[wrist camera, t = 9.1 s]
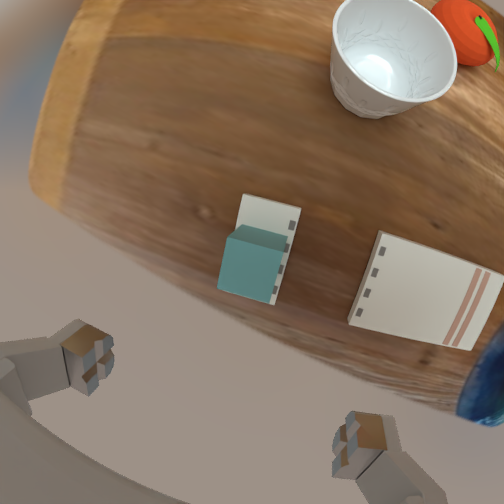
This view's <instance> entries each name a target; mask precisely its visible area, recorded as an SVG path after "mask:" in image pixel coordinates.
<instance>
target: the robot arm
mask: <svg viewBox="0 0 504 504" xmlns="http://www.w3.org/2000/svg"><path fill="white" fill-rule="evenodd" d="M113 346H114V343H113V337H112V336H111V335H109V334H107V333H104V332H103V331H101V330H99V329H97V328H95V327H93V326H91V325H89V324H87V323H85V322H83V321H82V320H80V319H76V320H74V321H72V322H71V323H69V324H68V325H67V326H65V327H64V328H62V329H61V330H60V331H58V332H57V333H55V334H54V335H53V336H51V337H50V338H47V337H40V338H32V339H24V340H17V341H8V342H0V504H189V503H186V502H183V501H181V500H178V499H175V498H173V497H170V496H167V495H165V494H162V493H160V492H158V491H155V490H153V489H150V488H148V487H146V486H143V485H141V484H139V483H137V482H135V481H133V480H131V479H129V478H127V477H125V476H123V475H121V474H119V473H117V472H115V471H113V470H111V469H109V468H107V467H106V466H104V465H102V464H100V463H98V462H97V461H95V460H93V459H91V458H90V457H88V456H86V455H85V454H83V453H82V452H80V451H78V450H77V449H75V448H74V447H72V446H71V445H69V444H68V443H66V442H65V441H63V440H62V439H60V438H59V437H57V436H56V435H55V434H53V433H52V432H50V431H49V430H47V429H46V428H45V427H44V426H42V425H41V424H40V423H38V422H37V421H36V420H35V419H33V418H32V417H31V415H32V410H31V408H30V405H29V403H28V401H29V400H32V399H35V398H39V397H42V396H44V395H48V394H51V393H54V392H57V391H60V390H63V389H66V388H69V387H70V386H71V387H72V388H74V389H76V390H78V391H80V392H81V393H83V394H85V395H87V396H90V395H91V394H92V392H93V391H94V390H95V389H96V388H97V387H98V386H99V380H101V379H105V378H106V377H107V376H108V375H109V374H110V373H111V370H112V368H113V365H114V354H113V353H112V351H111V348H112V347H113ZM345 419H346V424H344V425H342V426H340V427H339V429H338V430H337V432H336V434H335V437H334V440H333V445H332V449H333V450H332V451H333V453H334V454H335V456H336V458H335V459H334V461H333V462H332V477H333V478H341V479H350V480H356V483H357V485H358V486H359V488H360V490H361V492H362V493H363V495H364V496H365V498H366V500H367V501H368V503H369V504H448V503H447V498H446V494H445V491H444V490H443V489H442V488H440V486H439V485H437V483H436V482H435V481H434V480H433V479H432V478H431V477H430V476H429V475H428V474H427V473H426V472H425V471H424V470H423V469H422V468H421V467H420V466H419V465H418V464H417V463H416V462H415V461H414V460H413V459H412V458H411V457H410V456H409V455H408V454H407V453H406V452H402V449H401V444H400V440H399V435H398V431H397V427H396V423H395V419H394V417H393V416H389V415H380V414H379V415H378V414H370V413H363V412H356V411H351V412H350V413H349V414H348V415H347V417H346V418H345Z"/></svg>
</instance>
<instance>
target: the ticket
mask: <svg viewBox="0 0 504 504" xmlns="http://www.w3.org/2000/svg"><path fill="white" fill-rule="evenodd" d="M503 282H504V275H502V274H501V273H499V272H496V271H494V270H491V269H489V268H486V267H483V266H481V265H478V264H476V263H473V262H470V261H468V260H465V259H462V258H460V257H457V256H454V255H451V254H449V253H446V252H443V251H440V250H437V249H435V248H432V247H429V246H426V245H423V244H420V243H417V242H414V241H411V240H408V239H405V238H402V237H399V236H396V235H393V234H390V233H387V232H383V231H380V230H379V231H378V234H377V237H376V241H375V244H374V247H373V250H372V253H371V256H370V259H369V262H368V265H367V267H366V270H365V273H364V276H363V279H362V281H361V284H360V287H359V289H358V292H357V295H356V297H355V300H354V302H353V305H352V308H351V310H350V313H349V315H348V317H347V319H348V324H349V325H352V326H356V327H361V328H365V329H369V330H373V331H378V332H382V333H386V334H391V335H395V336H400V337H404V338H409V339H414V340H418V341H423V342H428V343H433V344H438V345H443V346H448V347H453V348H458V349H464V350H469V351H471V349H472V348H473V346H474V344H475V342H476V340H477V338H478V337H479V335H480V333H481V331H482V329H483V327H484V325H485V323H486V321H487V319H488V317H489V314H490V312H491V310H492V308H493V306H494V304H495V301H496V299H497V297H498V294H499V292H500V289H501V287H502V285H503Z"/></svg>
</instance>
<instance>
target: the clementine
mask: <svg viewBox="0 0 504 504" xmlns="http://www.w3.org/2000/svg"><path fill="white" fill-rule="evenodd" d="M431 13H432V14H433V15H434V16H435V17H436V18H437V19H438V20H439V22H440V23H441V24H442V25H443V27H444V28H445V29H446V31H447V32H448V34H449V36H450V38H451V40H452V42H453V45H454V48H455V51H456V56H457V62H458V63H460V64H463V65H469V66H479V65H483V64H485V63H487V62H488V61H490V60H491V59H492V58H493V57H494V55H495V57H496V63H497V66H496V70H497V68H498V66H499V61H500V54H499V47H498V38H497V32H496V29H495V26H494V24H493V23H492V21H491V19H490V18H489V17H488V15H487V14H486V13H485V12H484V11H483V10H482V9H481V8H480V7H478V6H477V5H475V4H474V3H472V2H470V1H467V0H441V1H439V2H438V3H436V4H435V6H434V7H433V8H432V10H431ZM496 70H495V72H496Z"/></svg>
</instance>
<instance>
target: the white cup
mask: <svg viewBox="0 0 504 504" xmlns="http://www.w3.org/2000/svg"><path fill="white" fill-rule="evenodd" d="M330 71H331V76H330V81H331V84H332V88H333V92H334V95H335V96H336V98H337V99H338V100H339V101H340V103H341V104H342V105H343V106H344V108H345V109H347V110H349V111H351V112H352V113H354V114H356V115H358V116H359V117H363V118H371V119H380V118H383V117H385V116H388V115H394V114H397V113H401V112H403V111H406V110H408V109H411V108H413V107H416V106H418V105H421V104H423V103H426V102H428V101H431V100H434V99H436V98H438V97H440V96H441V95H443V94H444V93H445V92H446V91H447V90H448V89H449V88H450V87H451V85H452V83H453V82H454V79H455V76H456V72H457V56H456V51H455V48H454V45H453V42H452V40H451V38H450V36H449V34H448V32H447V31H446V29H445V28H444V27H443V25H442V24H441V23H440V22H439V20H438V19H437V18H436V17H435V16H434V15H433V14H432V13H431V12H429V11H428V10H427V9H426V8H424V7H423V6H421V5H420V4H418V3H417V2H415V1H413V0H346V1H345V2H343V3H342V4H341V6H340V7H339V8H338V10H337V12H336V14H335V16H334V20H333V27H332V42H331V55H330Z"/></svg>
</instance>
